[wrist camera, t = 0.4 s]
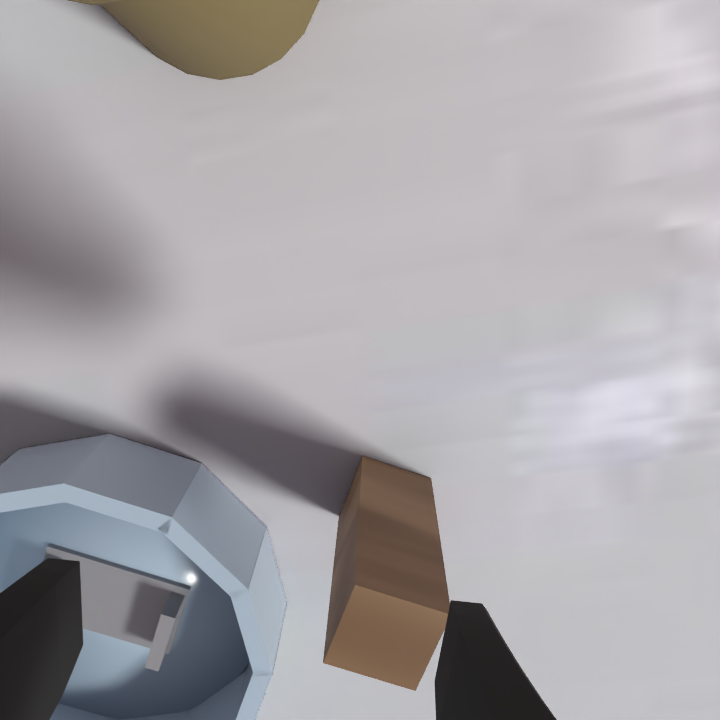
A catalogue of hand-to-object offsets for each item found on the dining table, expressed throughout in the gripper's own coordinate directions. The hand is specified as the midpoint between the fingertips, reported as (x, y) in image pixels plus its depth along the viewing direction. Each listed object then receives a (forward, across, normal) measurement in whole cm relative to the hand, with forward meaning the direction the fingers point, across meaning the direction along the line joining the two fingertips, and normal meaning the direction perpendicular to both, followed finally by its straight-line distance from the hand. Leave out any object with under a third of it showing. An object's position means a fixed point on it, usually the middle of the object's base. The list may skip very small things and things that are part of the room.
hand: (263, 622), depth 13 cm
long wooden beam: (+10, -3, +3) cm, 11 cm away
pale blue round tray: (+10, +6, +8) cm, 14 cm away
